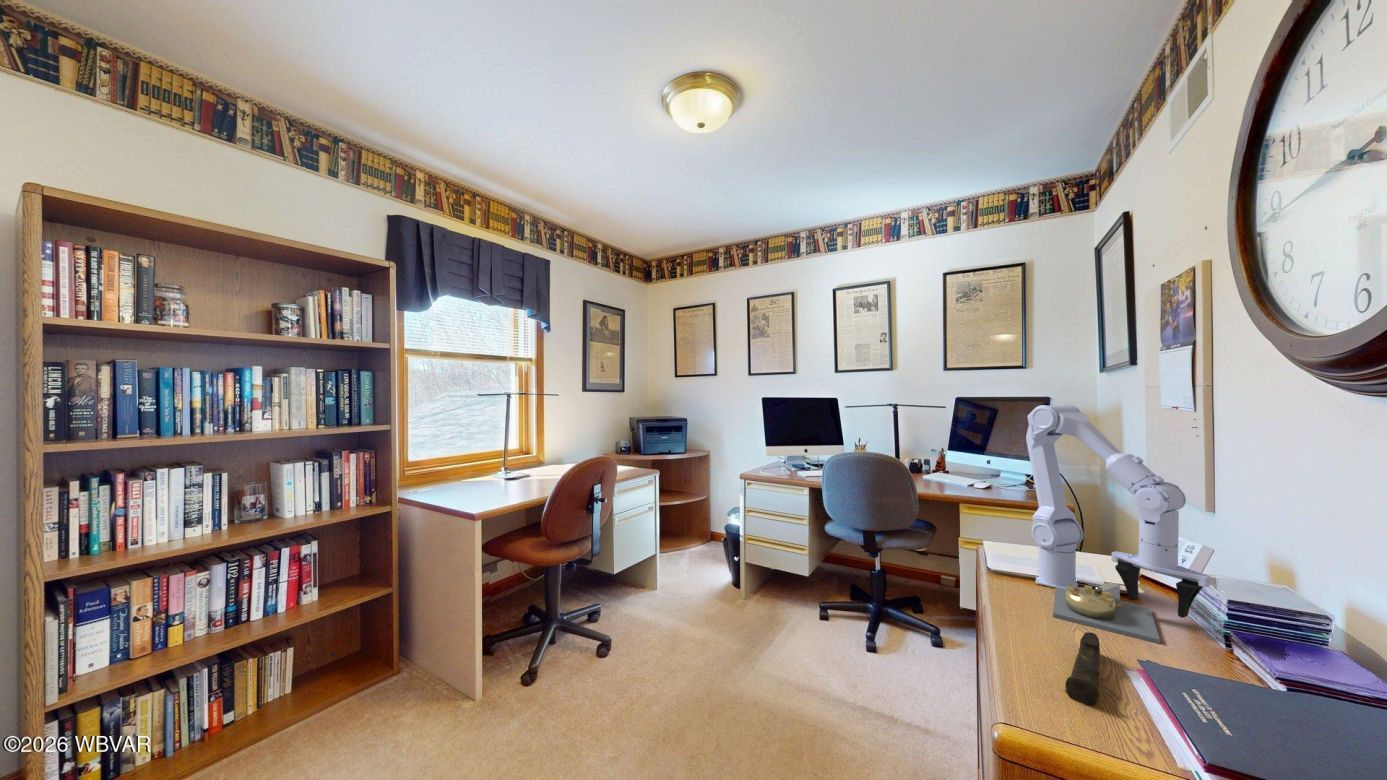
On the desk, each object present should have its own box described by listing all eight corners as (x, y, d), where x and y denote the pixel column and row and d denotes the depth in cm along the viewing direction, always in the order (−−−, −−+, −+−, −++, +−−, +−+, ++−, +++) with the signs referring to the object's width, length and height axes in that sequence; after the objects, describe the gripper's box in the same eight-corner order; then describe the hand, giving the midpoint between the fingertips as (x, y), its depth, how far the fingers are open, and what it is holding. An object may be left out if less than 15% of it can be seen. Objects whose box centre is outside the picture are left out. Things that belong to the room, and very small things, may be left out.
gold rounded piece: (1102, 622, 93) (1102, 602, 93) (1057, 604, 100) (1057, 586, 100) (1138, 607, 99) (1138, 589, 99) (1093, 592, 106) (1093, 575, 106)
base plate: (1055, 590, 110) (1055, 586, 110) (1149, 611, 100) (1149, 607, 100) (1053, 616, 98) (1053, 612, 98) (1159, 643, 87) (1159, 639, 87)
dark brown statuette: (1098, 711, 70) (1098, 681, 70) (1064, 698, 73) (1065, 669, 73) (1112, 660, 83) (1112, 635, 83) (1083, 651, 86) (1083, 626, 86)
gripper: (1217, 550, 90) (1216, 619, 90) (1123, 529, 103) (1122, 589, 103) (1201, 556, 87) (1200, 627, 87) (1106, 533, 100) (1106, 595, 100)
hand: (1157, 607), depth 95 cm, fingers open, 7 cm apart
